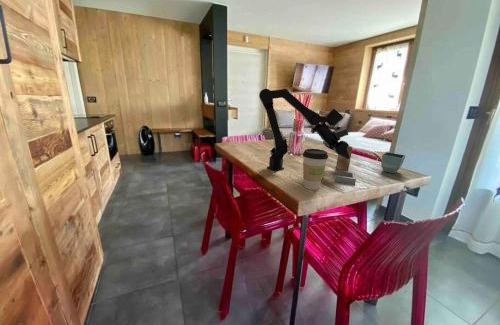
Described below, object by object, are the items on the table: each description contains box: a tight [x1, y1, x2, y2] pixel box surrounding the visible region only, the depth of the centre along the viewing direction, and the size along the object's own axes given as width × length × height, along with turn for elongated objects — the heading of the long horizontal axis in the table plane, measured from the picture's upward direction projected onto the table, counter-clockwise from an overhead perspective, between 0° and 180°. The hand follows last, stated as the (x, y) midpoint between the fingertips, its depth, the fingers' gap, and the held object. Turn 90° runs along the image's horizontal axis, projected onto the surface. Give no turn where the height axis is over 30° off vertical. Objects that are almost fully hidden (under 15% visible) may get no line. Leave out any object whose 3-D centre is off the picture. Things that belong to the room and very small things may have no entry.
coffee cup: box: [302, 148, 329, 191], centre depth 87 cm, size 10×10×15 cm
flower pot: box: [381, 151, 406, 174], centre depth 110 cm, size 9×9×9 cm
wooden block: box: [335, 144, 353, 172], centre depth 109 cm, size 4×4×13 cm
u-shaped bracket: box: [334, 169, 357, 185], centre depth 98 cm, size 8×9×2 cm
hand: (344, 155), depth 108 cm, fingers open, 9 cm apart
